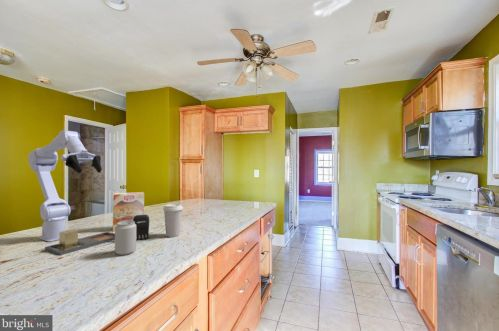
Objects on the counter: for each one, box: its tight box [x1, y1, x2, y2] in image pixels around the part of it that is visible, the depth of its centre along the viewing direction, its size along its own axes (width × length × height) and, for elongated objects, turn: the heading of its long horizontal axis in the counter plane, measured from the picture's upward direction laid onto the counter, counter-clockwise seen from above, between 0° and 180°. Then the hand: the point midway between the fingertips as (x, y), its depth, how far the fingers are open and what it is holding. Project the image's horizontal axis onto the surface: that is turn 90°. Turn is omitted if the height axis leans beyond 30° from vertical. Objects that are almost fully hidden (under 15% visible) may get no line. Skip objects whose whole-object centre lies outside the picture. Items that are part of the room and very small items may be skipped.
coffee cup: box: [162, 203, 184, 238], centre depth 115 cm, size 10×10×15 cm
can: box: [114, 221, 137, 256], centre depth 91 cm, size 8×8×12 cm
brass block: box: [58, 229, 79, 251], centre depth 95 cm, size 4×4×7 cm
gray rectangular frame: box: [44, 231, 115, 256], centre depth 102 cm, size 12×25×1 cm, turn 153°
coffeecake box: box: [112, 191, 145, 232], centre depth 127 cm, size 15×7×20 cm, turn 119°
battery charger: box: [133, 213, 150, 241], centre depth 108 cm, size 7×4×11 cm, turn 119°
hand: (90, 171), depth 96 cm, fingers open, 7 cm apart
